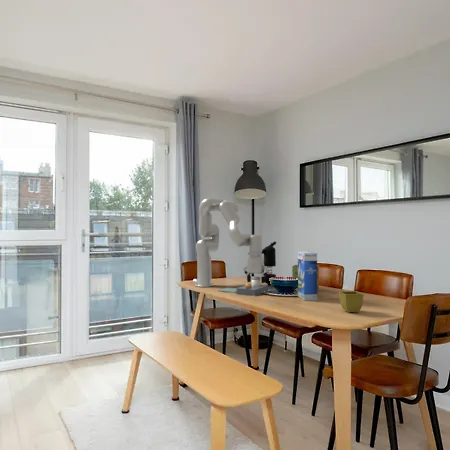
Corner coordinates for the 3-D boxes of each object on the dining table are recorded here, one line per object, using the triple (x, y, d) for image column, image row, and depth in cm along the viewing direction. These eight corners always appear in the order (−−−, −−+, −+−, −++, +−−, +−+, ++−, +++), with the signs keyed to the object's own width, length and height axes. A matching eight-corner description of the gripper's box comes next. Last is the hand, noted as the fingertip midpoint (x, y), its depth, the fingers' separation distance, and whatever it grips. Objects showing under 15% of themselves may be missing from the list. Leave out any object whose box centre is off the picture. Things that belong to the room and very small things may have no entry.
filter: (272, 284, 265) (271, 241, 265) (280, 286, 257) (279, 241, 257) (255, 285, 259) (255, 241, 259) (263, 287, 251) (262, 241, 251)
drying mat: (218, 291, 239) (218, 290, 239) (228, 288, 249) (228, 287, 249) (234, 292, 232) (234, 291, 232) (244, 290, 243) (244, 289, 243)
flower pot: (338, 310, 184) (338, 291, 184) (356, 309, 184) (355, 290, 184) (345, 314, 175) (345, 294, 175) (364, 313, 176) (364, 294, 176)
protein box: (317, 292, 233) (317, 266, 233) (292, 291, 238) (291, 266, 238) (319, 289, 242) (318, 265, 243) (294, 288, 247) (294, 264, 248)
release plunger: (244, 293, 228) (244, 284, 228) (247, 292, 231) (247, 283, 231) (249, 293, 226) (249, 284, 226) (252, 292, 229) (252, 283, 229)
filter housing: (236, 294, 228) (236, 288, 228) (251, 289, 244) (251, 284, 244) (254, 295, 222) (254, 289, 222) (268, 291, 238) (268, 285, 238)
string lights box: (297, 296, 220) (297, 251, 220) (310, 296, 220) (310, 251, 221) (304, 300, 207) (304, 252, 207) (318, 300, 207) (317, 252, 207)
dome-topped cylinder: (249, 291, 236) (249, 277, 236) (253, 290, 240) (253, 276, 240) (257, 292, 233) (257, 277, 233) (262, 291, 237) (261, 276, 238)
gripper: (240, 254, 238) (240, 282, 238) (265, 255, 229) (266, 284, 229) (246, 253, 244) (246, 280, 244) (271, 254, 235) (271, 282, 235)
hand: (256, 282), depth 236 cm, fingers open, 9 cm apart
